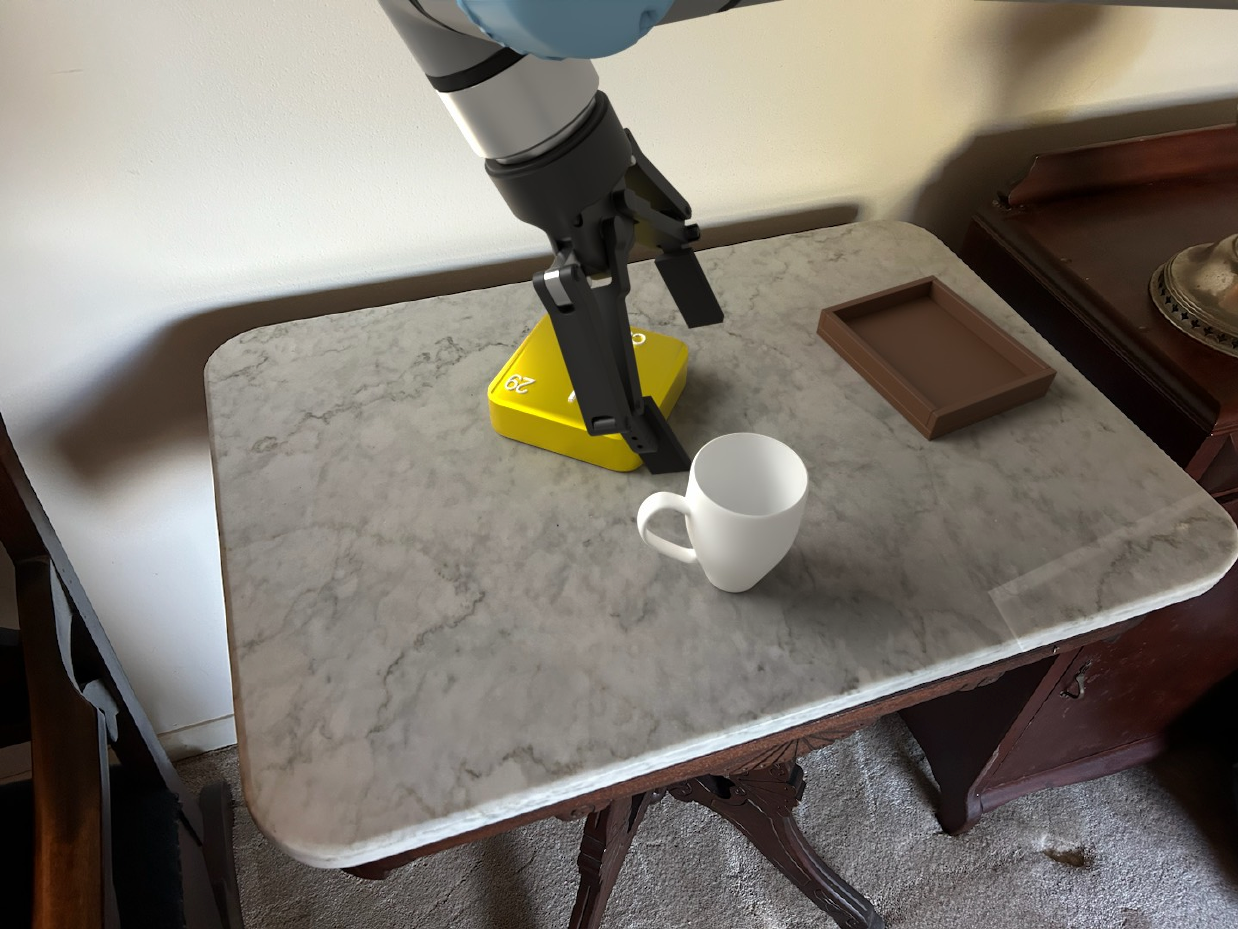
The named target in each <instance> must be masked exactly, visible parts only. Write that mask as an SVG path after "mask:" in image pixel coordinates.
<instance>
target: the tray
mask: <svg viewBox="0 0 1238 929" xmlns="http://www.w3.org/2000/svg"><path fill="white" fill-rule="evenodd" d="M815 332H816V335H818V336H819V337H820V338H821V339H822V340H823V341H824V342H825V343H826V344H827V345H828V346H829V347H830V348H831V349H832V350H833V351H835V353H837V354H838V355H839V356H840V358H842V359H843V360H844V361H845V362H846V363H847V364H848V366H850V367H851V368H852V369H853V370H854V371H855V372H856V373H857V374H858V375H860V377H862V378H863V379H864V380H865V381H866V383H867V384H868V385H870V386H871V387H872V388H873V389H874V390H875V391H876V392H877V393H878V394H879V395H880V396H881V397H882V398H884V400H886V402H888V403H889V404H890V405H891V406H892V407H893V409H895V410H896V411H897V412H898V413H899V414H900V415H901V416H902V417H903V418H904V419H905V420H906V421H907V422H908V423H909V424H910V425H911V426H912V427H914V428H915V429H916V430H917V431H918V432H919V433H920V434H921V435H922V436H923V437H924V438H925V439H926V440H927V441H931V440H934V439H936V438H939V437H942V436H944V435H946V434H949V433H952V432H955V431H957V430H960V429H962V428H964V427H967V426H970V425H973V424H975V423H978V422H980V421H983V420H985V419H988V418H990V417H993V416H995V415H998V414H1001V413H1004V412H1006V411H1008V410H1011V409H1014V408H1017V407H1018V406H1022V405H1024V404H1027V403H1029V402H1032V401H1034V400H1037V399H1039V398H1042V397H1044V396H1045V397H1046V395H1047V393H1048V392H1049V389H1050V387H1051V386H1052V384H1053V381H1055V380H1054V379H1055V378H1056V376H1057V374H1058V371H1057V370H1056V369H1055V368H1053V367H1052V366H1051V365H1050V364H1048V363H1047V362H1046V361H1044V360H1043V359H1042V358H1041V357H1039V356H1038V355H1036V353H1034V352H1033V351H1031V350H1030V349H1029V348H1027V347H1026V346H1025V344H1023V343H1021V342H1020V341H1018V340H1017V339H1016V338H1015V337H1014V336H1012V335H1011V334H1010V333H1008V332H1007V331H1006V330H1004V329H1003V328H1002V327H1001V326H999V325H998V324H997V323H996V322H995V321H993V320H992V319H990V318H989V317H988V316H987V315H986V314H984V313H982V312H981V311H980V310H979V309H978V308H976V307H975V306H974V305H972V303H970V302H968V300H966V299H964V298H963V297H962V296H961V295H959V294H958V293H957V292H956V291H954V290H953V289H951V288H950V287H949V286H948V285H947V284H945V282H943V281H941V280H940V279H939V278H938V277H937V276H936V275H934V274H932V275H928V276H925V277H921V278H918V279H915V280H912V281H908V282H906V283H903V284H899V285H896V286H893V287H889V288H886V289H883V290H879V291H877V292H873V293H870V294H867V295H864V296H860V297H857V298H854V299H851V300H848V301H844V302H841V303H837V304H834V305H831V306H828V307H825V308H822V309H821V310H820V314H819V318H818V323H817V328H816V330H815Z"/></svg>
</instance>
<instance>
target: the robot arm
mask: <svg viewBox="0 0 1238 929" xmlns="http://www.w3.org/2000/svg"><path fill="white" fill-rule="evenodd" d="M376 1H377V3H378V5H379V6H380V8H381V9H382V10H383V12H384V13H385V16H387V19H389V21H390V23H391V25H392V26H393V27H394V29H395V30H396V32H397V33H398V35H399V37H400V39H401V40H402V42H403V43H404V45H405V46H406V48H407V49H408V50H409V52H410V54H411V56H412V57H413V58H414V60H415V62H416V63H417V64H418V66H419V67H420V69H421V71H422V72H423V73H424V75H425V77H426V78H427V80H428V81H429V84H430V85H431V86H432V88H433V89H434V90H435V91H436V93H437V94H438V96H439V98H440V99H441V101H442V102H443V104H444V105H445V107H446V109H447V111H448V112H449V114H450V115H451V117H452V118H453V120H454V122H455V123H456V125H457V126H458V128H459V130H460V131H461V133H462V135H463V136H464V138H465V139H466V141H467V142H468V144H469V146H470V147H471V149H472V151H473V152H474V153H475V154H476V155H477V156H478V157H479V158H484V164H483V165H484V166H483V167H484V170H485V172H486V174H487V176H488V177H489V179H490V180H491V182H492V183H493V185H494V187H495V188H496V190H497V191H498V193H499V194H500V196H501V198H502V199H503V200H504V202H505V204H506V205H507V207H508V208H509V210H510V212H511V214H513V216H514V217H515V218H516V219H517V220H519V221H521V222H523V223H525V224H528V225H531V226H533V227H535V228H538V229H540V230H541V231H543V232H544V233H545V234H546V237H547V239H548V241H549V244H550V247H551V250H552V254H553V257H554V260H553V262H552V264H551V266H550V267H549V269H544V270H540V271H536V272H534V273H533V274H532V282H531V283H532V286H533V289H534V291H535V293H536V294H537V296H538V298H539V300H540V302H541V303H542V306H543V307H544V309H545V310H546V313H548V314H549V316H550V319H551V322H552V325H553V328H554V331H555V334H556V337H557V340H558V344H559V347H560V350H561V353H562V356H563V359H564V362H565V365H566V368H567V371H568V374H569V377H570V380H571V383H572V386H573V389H574V393H575V396H576V399H577V402H578V405H579V408H580V411H581V414H582V417H583V420H584V423H585V426H586V429H587V432H588V434H589V435H590V436H592V437H594V436H602V435H610V434H618V433H620V434H621V436H622V437H623V438H624V440H625V441H626V443H627V444H628V445H629V447H630V449H631V450H632V451H633V452H634V453H636V454H638V455H639V457H640V458H641V460H642V461H643V462H644V463H643V464H644V466H645V467H646V469H648V472H649V473H650V474H651V476H656V475H663V474H664V475H665V474H676V473H686V472H687V473H688V472H690V471H691V466H692V463H693V461H692V460H691V458H690V457H689V455H688V453H687V451H686V450H685V448H684V447H683V445H682V444H681V442H680V440H679V439H678V437H677V435H676V434H675V433H674V432H675V431H673V429H672V427H671V426H670V424H669V422H668V420H666V419H665V418H664V416H663V414H662V413H661V411H660V409H659V408H658V406H657V404H656V403H655V401H654V400H653V398H652V396H644V397H643V396H642V391H641V385H640V379H639V374H638V368H637V363H636V357H635V352H634V346H633V341H632V335H631V330H630V326H631V324H630V319H629V314H628V309H627V303H626V298H627V296H628V295H629V294H630V293H631V291H632V287H631V280H630V275H629V274H630V273H629V268H628V264H629V257H630V252H631V250H632V249H633V248H634V246H635V244H636V243H637V244H639V245H641V246H644V247H647V248H649V249H651V250H654V251H657V252H658V251H662V252H663V253H660V254H656V255H655V258H654V261H653V263H654V265H655V267H656V269H657V270H658V272H659V274H660V276H661V278H662V280H663V282H664V284H665V286H666V288H667V290H668V292H669V294H670V296H671V298H672V300H673V301H674V303H675V305H676V307H677V309H678V311H679V313H680V315H681V316H682V319H683V320H684V322H685V324H686V326H687V328H688V330H691V329H697V328H702V327H707V326H712V325H717V324H723V323H724V320H725V314H724V312H723V309H722V307H721V305H720V303H719V301H718V300H717V297H716V295H715V293H714V291H713V289H712V286H711V284H710V283H709V280H708V278H707V276H706V274H705V272H704V270H703V268H702V265H701V264H700V261H699V259H698V257H697V255H696V253H695V251H694V249H693V247H692V246H690V244H692V243H696V242H699V241H701V239H702V234H701V229H700V226H699V224H698V223H697V222H696V223H692V224H687V225H686V221H688V220H692V217H693V216H692V215H693V210H692V207H691V204H689V202H688V201H687V200H686V198H685V197H684V196H683V195H682V194H681V193H680V192H679V191H678V190H677V189H676V187H674V185H673V184H672V183H671V182H670V181H669V179H667V178H666V177H665V175H664V174H663V173H662V172H661V171H660V170H659V169H658V168H657V167H656V166H655V164H654V163H653V162H652V161H651V160H650V159H649V157H647V155H645V154H644V153H643V152H642V149H641V147H640V146H639V144H638V142H637V140H636V139H635V136H634V135H633V133H632V131H631V130H630V128H629V127H623V125H622V123H621V121H620V119H619V116H618V114H617V113H616V110H615V109H614V107H613V104H612V102H611V100H610V98H609V95H608V94H607V93H605V92H604V91H603V90H601V89H599V86H600V76H599V74H598V72H597V70H596V68H595V66H594V64H593V62H592V60H596V59H602V58H603V59H604V58H608V57H611V56H614V55H617V54H619V53H621V52H624V51H626V50H628V49H629V48H631V47H633V46H635V45H636V44H637V43H638V42H639V40H640V39H642V38H644V37H645V36H647V35H648V34H649V32H650V31H652V29H653V28H654V27H658V26H659V27H660V26H663V25H668V24H673V23H678V22H683V21H688V20H693V19H697V18H703V17H708V16H711V15H714V14H715V15H716V14H720V13H724V12H728V11H730V10H733V9H740V8H745V7H752V6H758V5H764V4H769V3H776V2H781V1H783V0H376ZM975 1H978V2H979V1H980V2H981V1H982V2H1005V3H1006V2H1007V3H1033V4H1035V3H1036V4H1059V5H1060V4H1063V5H1088V6H1089V5H1090V6H1114V7H1115V6H1117V7H1118V6H1119V7H1146V8H1147V7H1148V8H1172V9H1173V8H1176V9H1201V10H1202V9H1203V10H1229V11H1238V0H975ZM609 278H611V281H610V283H608V284H605V285H600V286H596V287H592V286H593V281H601V280H606V279H609Z"/></svg>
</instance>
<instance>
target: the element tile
mask: <svg viewBox="0 0 1238 929" xmlns="http://www.w3.org/2000/svg"><path fill="white" fill-rule="evenodd" d="M630 330H631V335H632V341H633V346H634V352H635V357H636V363H637V368H638V374H639V379H640V385H641V391H642V396H643V397H644V396H652V398H653V400H654V401H655V403H656V404H657V406H658V408H659V409H660V411H661V413H662V414H663V416H664V418H665V419H666V421H668V418H669V417H670V415H671V414H672V411H673V409H674V407H675V405H676V404H677V402H678V400H679V398H680V396H681V395H682V392H683V390H684V389H685V386H686V383H687V375H688V367H689V366H688V365H689V357H690V352H689V346H688V345H687V344H686V343H685V342H684V341H683V340H681V339H679V338H677V337H674V336H670V335H666V334H663V333H659V332H655V331H652V330H648V329H644V328H640V327H637V326H632V325H630ZM487 402H488V410H489V417H490V424H491V426H492V428H493V431H495V432H496V433H497V434H499V435H500V436H503V437H505V438H508V439H511V440H514V441H518V442H521V443H523V444H524V443H525V444H526V445H527V444H528V445H531V446H534V447H536V448H540V449H544V450H547V451H550V452H553V453H555V454H556V453H557V454H559V455H563V456H565V457H569V458H573V459H574V460H580V461H582V462H585V463H589V464H592V465H595V466H598V467H602V468H603V469H604V468H605V469H608V470H611V471H615V472H632V471H635V470H637V469H638V468H640V467H641V466H642V465H643V464H644V462H643V461H642V460H641V458H640V457H639V455H638V454H636V453H634V452H633V451H632V450H631V449H630V447H629V445H628V444H627V443H626V441H625V440H624V438H623V437H622V436H621V434H620V433H618V434H610V435H602V436H594V437H592V436H590V435H589V434H588V432H587V429H586V426H585V423H584V420H583V417H582V414H581V411H580V408H579V405H578V402H577V399H576V396H575V393H574V389H573V386H572V383H571V380H570V377H569V374H568V371H567V368H566V365H565V362H564V359H563V356H562V353H561V350H560V347H559V344H558V340H557V337H556V334H555V331H554V328H553V325H552V322H551V319H550V316H549V314H548V312H546V314H545V315H543V316H542V317H541V318H540V320H539V321H538V322H537V324H536V325H535V327H533V329H532V330H531V332H530V333H529V334H528V335H527V336H526V338H525V339H524V340H523V342H522V343H521V344H520V345H519V347H518V348H517V349H516V351H515V352H514V353H513V355H511V357H510V358H509V360H508V361H507V362H506V363H505V365H504V366H503V367H502V368H501V370H500V371H499V372H498V373H497V375H496V376H495V377H494V379H493V380H492V381H491V382H490V384H489V385H488V389H487Z"/></svg>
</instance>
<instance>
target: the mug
mask: <svg viewBox="0 0 1238 929" xmlns="http://www.w3.org/2000/svg"><path fill="white" fill-rule="evenodd" d="M688 478H689V479H688V484H687V488H686V491H685V492H686V493H685V496H682V495H680V494H677V493H674V492H670V491H659V492H654V493H653V494H651V495H649V496H648V497H647V498H646V499H644V501H643V502H642V503H641V505H640V507H639V509H638V512H637V517H636V519H637V520H636V522H637V523H636V524H637V530H638V532H639V536H640V537H641V539H642V540H643V542H644V543H645V544H646V545H647V546H648V547H649V548H650V549H652V550H654V551H656V552H657V553H660V554H662V555H664V556H666V557H668V558H671V559H673V560H675V561H678V562H681V563H683V564H687V565H697V564H698V565H700V567H701V568H702V569H703V572H704V573H705V576H706V578H707V579H708V581H709V582H710V583H711V584H712V585H713V586H714V587H716V588H717V589H719V590H722V591H724V592H728V593H742V592H746V591H748V590H750V589H751V588H752V587H754V586H756V584H757V583H758V582H759V581H760V580H761V579H763V578H764V577H765V576H766V575H767V574H768V573H770V572H771V571H772V570H773V568H775V567H776V566H777V565H778V564H779V563H780V562H781V561H782V560H783V558H785V556H786V555H787V554H788V552H789V550H790V549H791V547H792V546H793V544H794V542H795V540H796V538H797V535H798V532H799V529H800V526H801V523H802V519H803V515H804V512H805V508H806V504H807V500H808V497H809V491H810V475H809V472H808V469H807V466H806V464H805V462H804V461H803V460H802V458H801V457H800V455H799V454H798V453H796V452H795V450H793V449H792V448H791V447H790V446H788V445H787V444H785V443H784V442H782V441H780V440H778V439H776V438H773V437H771V436H768V435H764V434H761V433H760V434H759V433H753V432H734V433H728V434H724V435H721V436H718V437H715V438H714V439H712V440H710V441H708V442H707V443H706V444H705V445H703V446H702V447H701V448H700V449H699V451H698V452H697V453H696V455H695V456H694V459H693V461H692V463H691V468H690V471H689V477H688ZM663 510H674V511H677V512H679V513H681V514H683V515H684V520H685V526H686V532H687V535H688V538H689V541H690V543H691V546H692V548H687V547H684V546H680V545H678V544H675V543H673V542H671V541H668V540H666V539H664V538H662V537H659V536H658V535H656V534H654V533H653V532H651V531H650V530H649V529H648V523H649V521H650V519H651V518H652V517H653V516H654V515H656V514H657V513H658V512H660V511H663Z"/></svg>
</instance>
